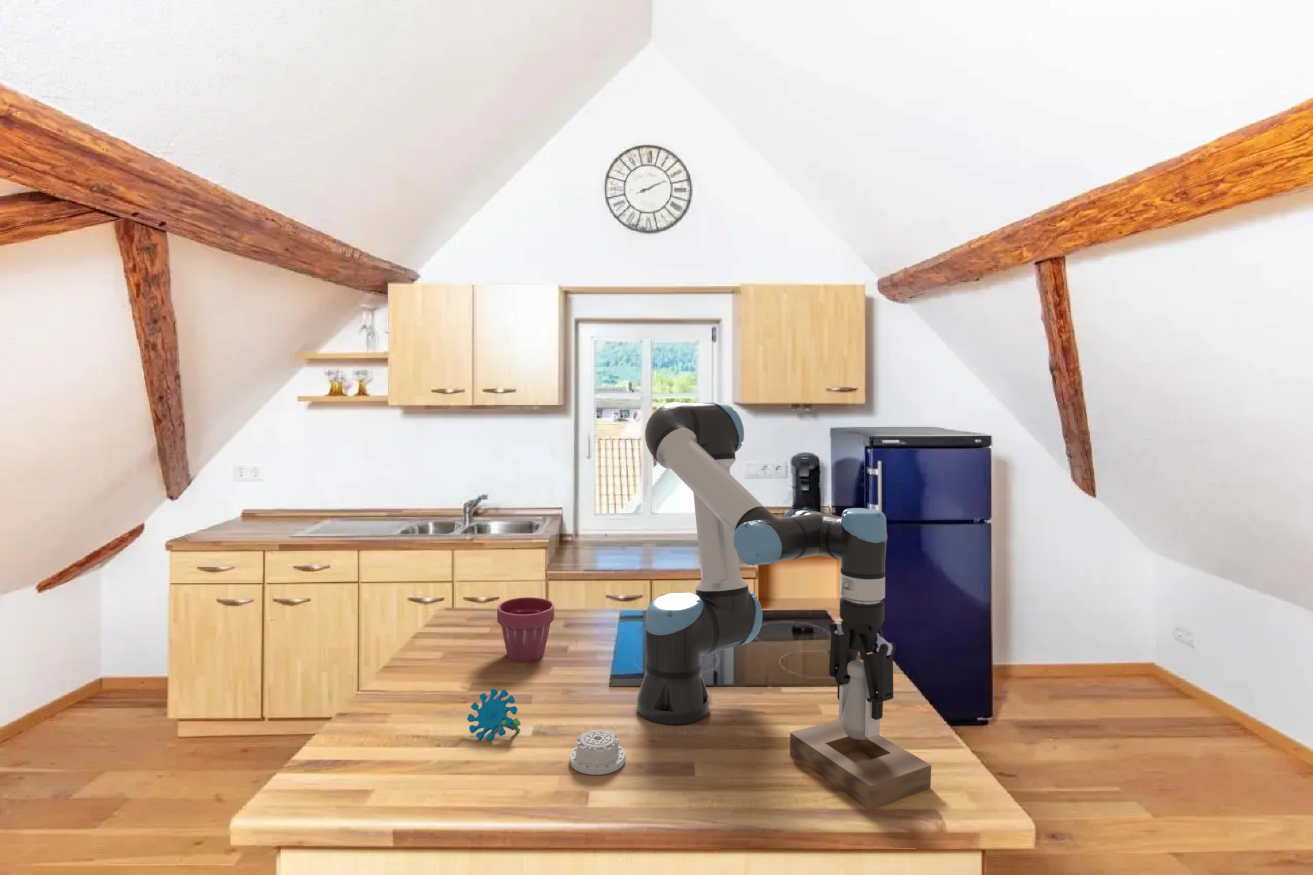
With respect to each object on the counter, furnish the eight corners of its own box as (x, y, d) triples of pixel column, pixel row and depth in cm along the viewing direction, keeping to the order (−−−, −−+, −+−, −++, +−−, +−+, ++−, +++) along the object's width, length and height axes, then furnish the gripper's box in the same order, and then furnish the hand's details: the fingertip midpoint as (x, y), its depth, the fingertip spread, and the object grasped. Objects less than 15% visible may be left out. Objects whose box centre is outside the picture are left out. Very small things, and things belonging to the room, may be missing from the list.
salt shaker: (876, 744, 122) (878, 670, 121) (842, 740, 123) (844, 667, 122) (873, 728, 128) (875, 657, 127) (840, 725, 129) (842, 655, 128)
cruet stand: (789, 753, 131) (790, 732, 131) (846, 736, 138) (847, 716, 138) (869, 810, 114) (870, 786, 113) (930, 787, 120) (931, 765, 120)
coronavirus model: (456, 727, 137) (484, 679, 142) (469, 738, 141) (496, 691, 146) (500, 748, 132) (528, 698, 137) (512, 759, 136) (539, 710, 141)
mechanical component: (612, 781, 122) (633, 753, 131) (612, 756, 122) (633, 730, 131) (560, 770, 125) (584, 744, 134) (560, 746, 125) (584, 721, 134)
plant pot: (549, 666, 171) (549, 614, 170) (491, 665, 171) (490, 613, 171) (558, 645, 186) (558, 597, 185) (504, 644, 186) (504, 596, 185)
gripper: (809, 587, 130) (807, 710, 132) (887, 616, 114) (883, 756, 115) (840, 582, 134) (837, 702, 135) (920, 609, 117) (916, 745, 119)
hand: (858, 727), depth 125 cm, fingers closed on salt shaker, 6 cm apart
